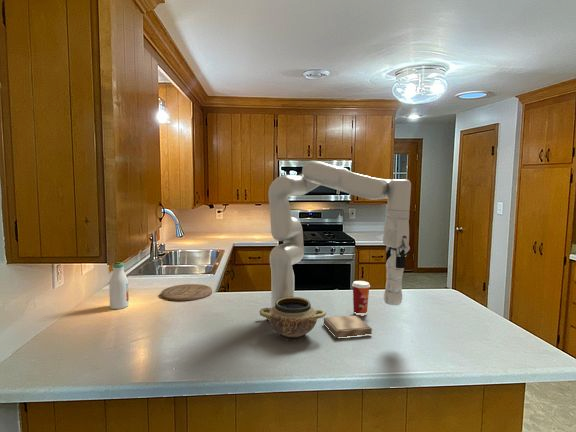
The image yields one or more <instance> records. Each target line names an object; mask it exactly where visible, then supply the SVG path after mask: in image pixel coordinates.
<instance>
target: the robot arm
mask: <svg viewBox="0 0 576 432" xmlns="http://www.w3.org/2000/svg"><path fill="white" fill-rule="evenodd" d="M319 186H320V187H321V186H324V187H326V188H330V189H333V190H337V191H339V192H343V193H346V194H349V195H352V196H355V197H359V198H362V199H366V200H371V201H375V200H385V199H387V205H386V218H385V222H384V227H383V228H384V229H383V236H382V237H383V239H382V244H383V245H384V247H385V263H386V262H387V260H388V258H389V257H390V256H391V254H390V252H391V248H395V249H397V255H398V256H397V257H396V268H404V269H405V267H406V257H407V255H408V252H409V251H410V249H411V247H410V245H409V243H410V223H409V220H410V210H411V209H410V207H411V194H412V193H411V192H412V183H411V181H410V180H409V179H403V178H402V179H397V178H394V179H385V178H378V177H371V176H369V175H364V174H360V173H356V172H352V171H350V170H349V169H348V168H345V167H343V166H338V165H333V164H330V163H326V162H324V161H319V160H309V161H307V162H305V164H304V165H303V166H302V170H301V173H300V174H298V175H295V174H284V175H280V176H278V177H276V178H275V179H274V180H273V181H272V182H271V183H270V185H269V188H268V193H267V195H268V203H269V219H270V220H269V221H270V232H271V233H270V234H271V236H272V238H273V239H274V240H275V241H277V242H283V243H280V244H278V245H276V246H274V247H273V248H272V249H271V251H270V253H269V266H270V270H271V272H270V273H271V274H270V275H271V276H270V277H271V286H270V287H271V290H270V291H271V293H270V295H271V297H270V299H271V300H270V302H271V303H270V304H271V305H270V306H271V307H269V308H272V307H274V306H275V303H276V301H277V300H278V299H281V298H285V297H295V273H294V269H293V265H295V264H297V263H299V262H301V261H302V259H303V258H304V255H305V253H304V252H305V247H304V244H305V243H304V231H303V226H302V224H301V221H300V220H299V219H298V218H297V217H295V216H292V212H291V211H292V209H291V208H292V207H291V205H290V202H289V197H301V196H303V195H304V196H305V195H306V194H308V193H309V192H311V191H313V190H315V189H316V188H318V187H319ZM400 250H402V251H401V252H400ZM265 313H268V312H265ZM259 316H261V317H263V316H262V315H260V314H259ZM268 320H269V319H268ZM268 320H267V321H268Z"/></svg>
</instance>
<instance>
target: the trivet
mask: <svg viewBox="0 0 576 432" xmlns="http://www.w3.org/2000/svg"><path fill="white" fill-rule="evenodd" d="M212 294H213V289H212V287H210V286H208V285H206V284H198V283H195V284H194V283H186V284H185V283H183V284H178V285H173V286H169V287H166V288H164V289H162V290H161V293H160V296H161V299H164V300H166V301H171V302H192V301H198V300H202V299H206V298H208V297H209V296H211V295H212Z"/></svg>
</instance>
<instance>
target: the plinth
mask: <svg viewBox="0 0 576 432" xmlns="http://www.w3.org/2000/svg"><path fill="white" fill-rule="evenodd" d="M324 324H325V325H326V326H327V327H328V328H329V330H330V331H331V332H332V333H333V334H334V335H335V337H336V338H338V337H347V336H357V335H365V334H372V331H373V329H372V327H371V326H370V325H368V324H367V323H366V322H365V321H364V320H362V319H361V318H360V316H357V315H355V314H354V315H342V316H341V315H340V316H328V317H323V325H324ZM335 337H334V338H335Z"/></svg>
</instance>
